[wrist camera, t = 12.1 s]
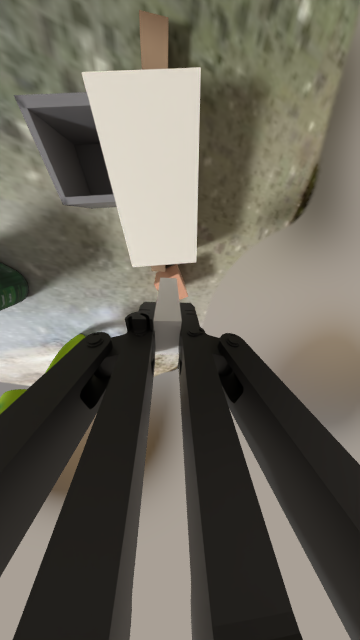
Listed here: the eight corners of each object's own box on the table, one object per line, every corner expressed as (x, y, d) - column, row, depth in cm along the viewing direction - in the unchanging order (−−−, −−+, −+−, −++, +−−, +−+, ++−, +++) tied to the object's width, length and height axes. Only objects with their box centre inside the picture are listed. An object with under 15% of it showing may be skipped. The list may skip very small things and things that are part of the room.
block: (156, 272, 27) (154, 284, 22) (176, 263, 26) (178, 273, 21) (166, 291, 30) (165, 305, 25) (184, 283, 29) (188, 296, 24)
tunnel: (64, 131, 16) (-4, 75, 10) (188, 125, 16) (200, 67, 10) (108, 256, 25) (88, 270, 18) (189, 251, 25) (196, 262, 19)
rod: (143, 40, 13) (139, 10, 11) (168, 46, 14) (168, 17, 12) (152, 267, 27) (151, 271, 25) (165, 267, 27) (165, 271, 25)
